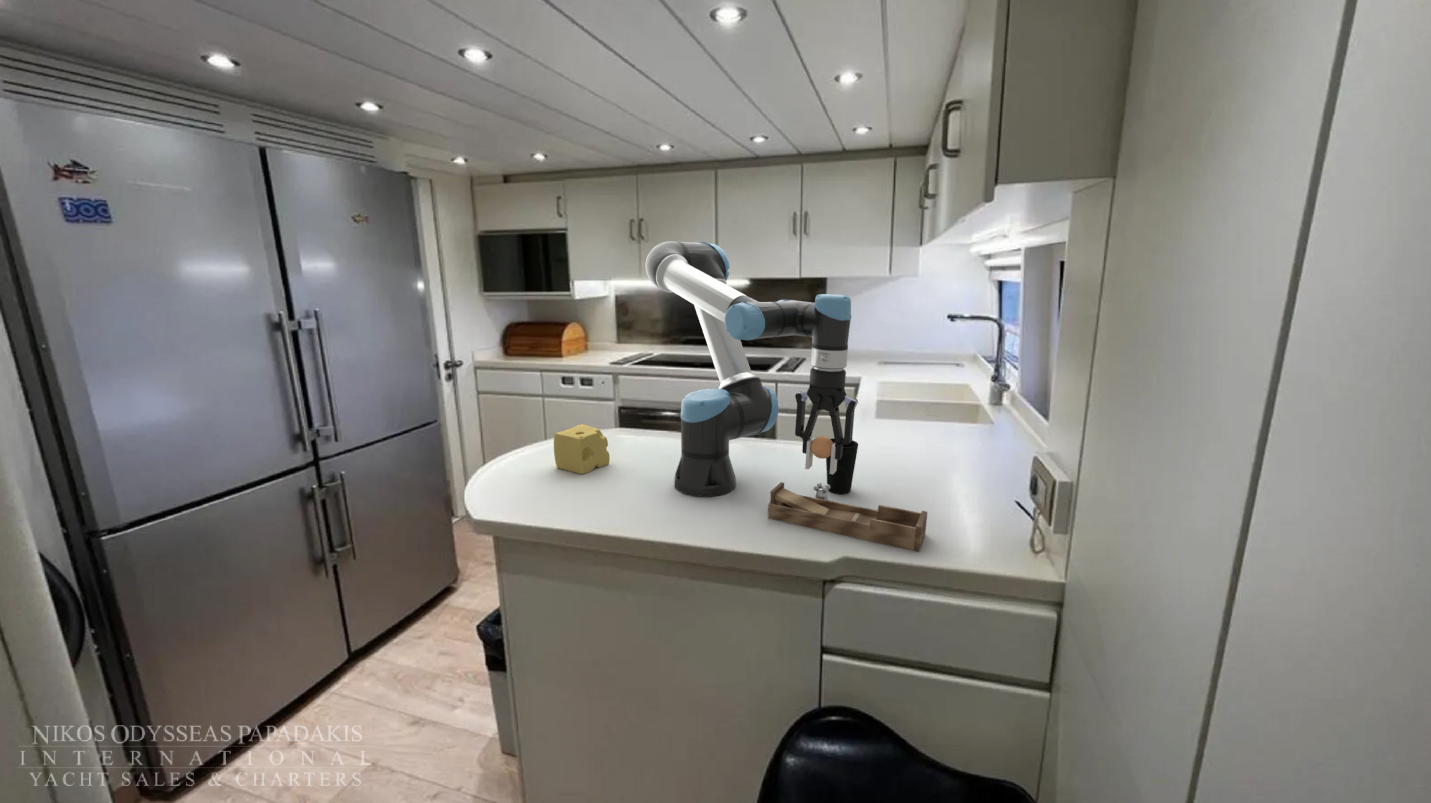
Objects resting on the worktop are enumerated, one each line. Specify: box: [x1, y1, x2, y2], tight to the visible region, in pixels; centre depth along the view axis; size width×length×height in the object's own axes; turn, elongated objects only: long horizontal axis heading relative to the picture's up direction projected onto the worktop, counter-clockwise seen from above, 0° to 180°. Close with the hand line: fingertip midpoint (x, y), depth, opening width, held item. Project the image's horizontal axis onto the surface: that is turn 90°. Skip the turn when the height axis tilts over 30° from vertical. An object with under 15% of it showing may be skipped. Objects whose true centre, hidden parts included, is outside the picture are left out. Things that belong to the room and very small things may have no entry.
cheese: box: [553, 423, 610, 475], centre depth 151 cm, size 10×11×10 cm
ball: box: [811, 435, 833, 460], centre depth 125 cm, size 5×5×5 cm
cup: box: [825, 437, 859, 495], centre depth 135 cm, size 8×8×12 cm
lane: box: [767, 481, 928, 553], centre depth 116 cm, size 31×8×6 cm, turn 62°
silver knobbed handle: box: [813, 482, 830, 501], centre depth 127 cm, size 5×5×5 cm
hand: (820, 469), depth 126 cm, fingers closed on ball, 5 cm apart
